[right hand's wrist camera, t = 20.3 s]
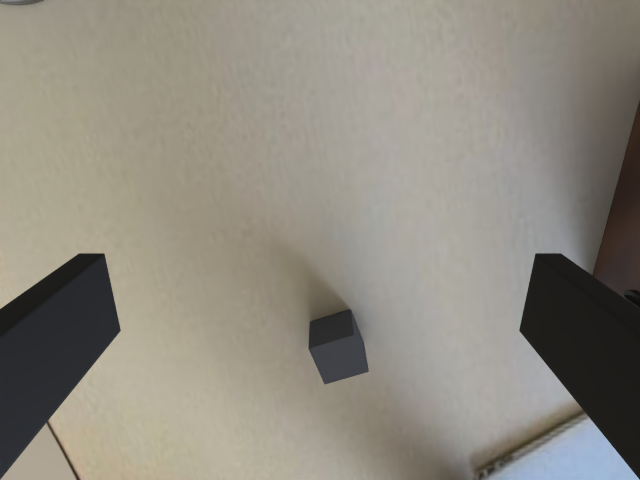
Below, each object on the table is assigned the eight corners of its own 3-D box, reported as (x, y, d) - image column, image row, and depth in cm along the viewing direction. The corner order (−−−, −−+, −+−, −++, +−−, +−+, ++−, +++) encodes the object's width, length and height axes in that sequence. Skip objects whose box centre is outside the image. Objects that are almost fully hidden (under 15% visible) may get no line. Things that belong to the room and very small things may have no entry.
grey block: (309, 321, 46) (308, 348, 42) (350, 309, 46) (354, 334, 41) (324, 355, 48) (324, 384, 43) (364, 343, 47) (368, 371, 43)
